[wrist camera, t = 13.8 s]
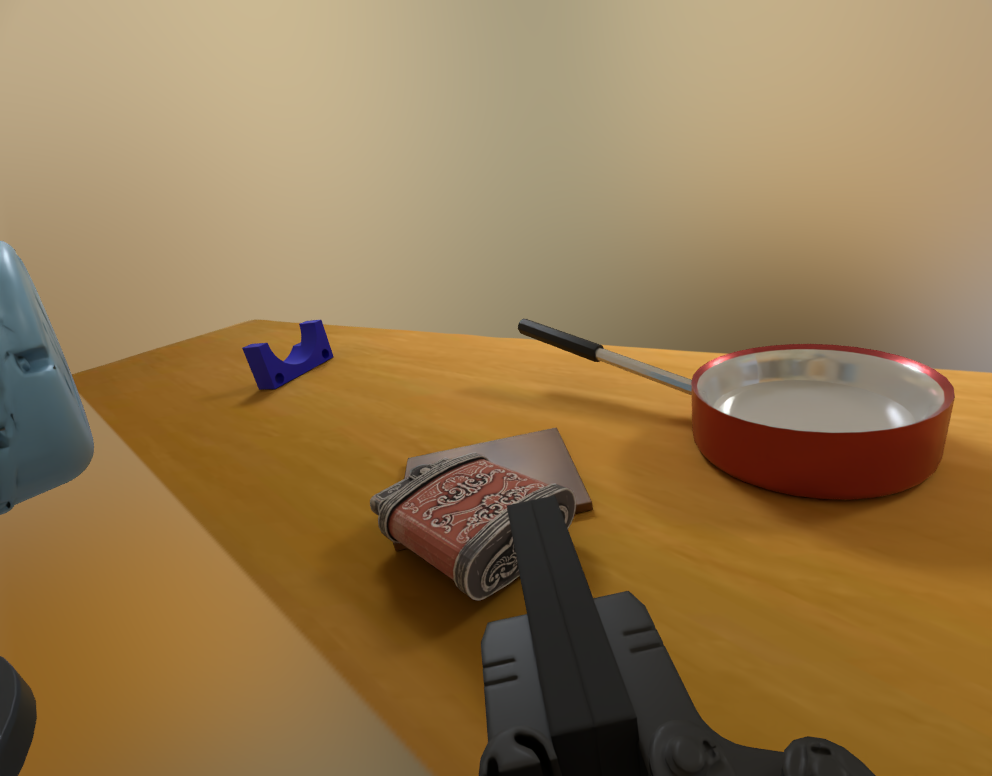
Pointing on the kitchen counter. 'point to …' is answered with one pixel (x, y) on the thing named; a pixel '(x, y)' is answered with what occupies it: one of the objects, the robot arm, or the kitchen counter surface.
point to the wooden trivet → (522, 462)
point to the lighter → (463, 518)
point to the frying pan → (805, 414)
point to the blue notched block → (289, 357)
